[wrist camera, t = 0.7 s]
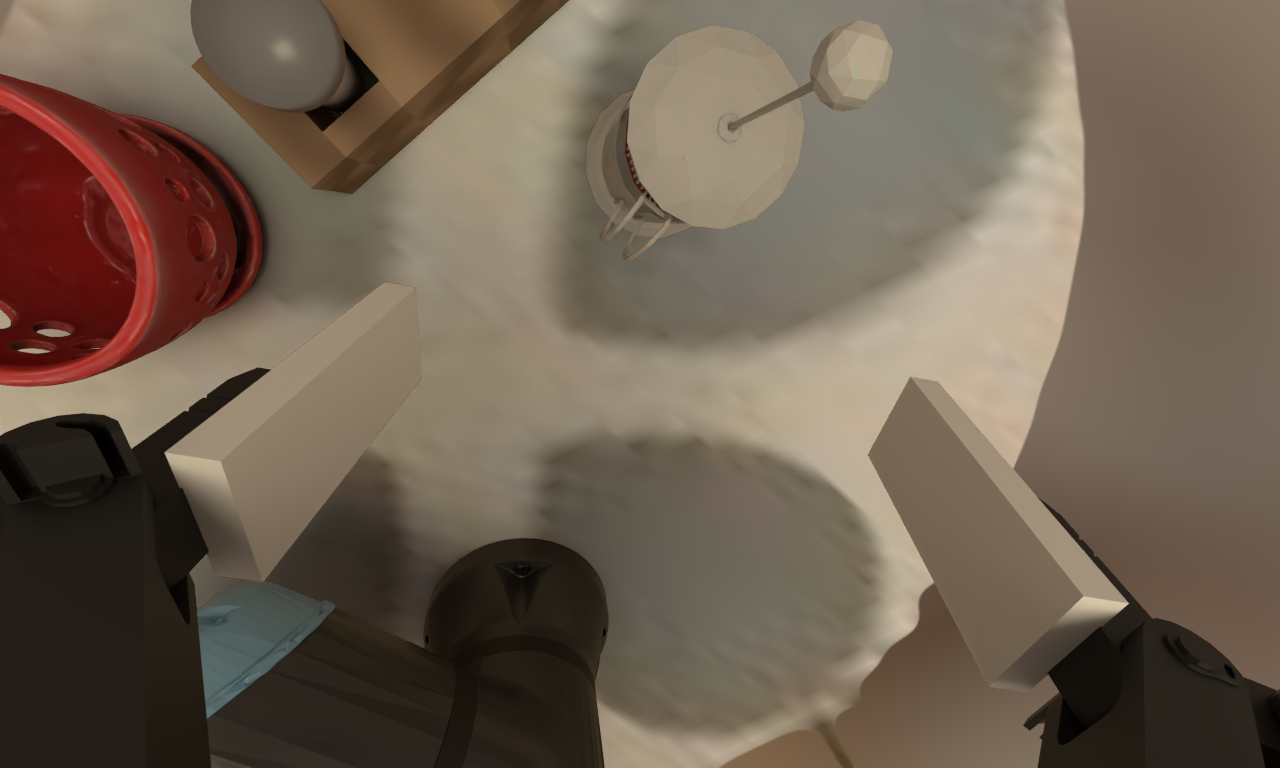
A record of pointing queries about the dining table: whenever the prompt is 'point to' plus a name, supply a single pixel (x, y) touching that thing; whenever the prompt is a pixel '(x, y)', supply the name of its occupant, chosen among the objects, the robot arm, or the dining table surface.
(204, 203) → the plant pot
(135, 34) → the dining table surface
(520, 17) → the socket block
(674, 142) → the french press
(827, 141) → the dining table surface
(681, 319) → the dining table surface
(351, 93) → the charcoal plug
